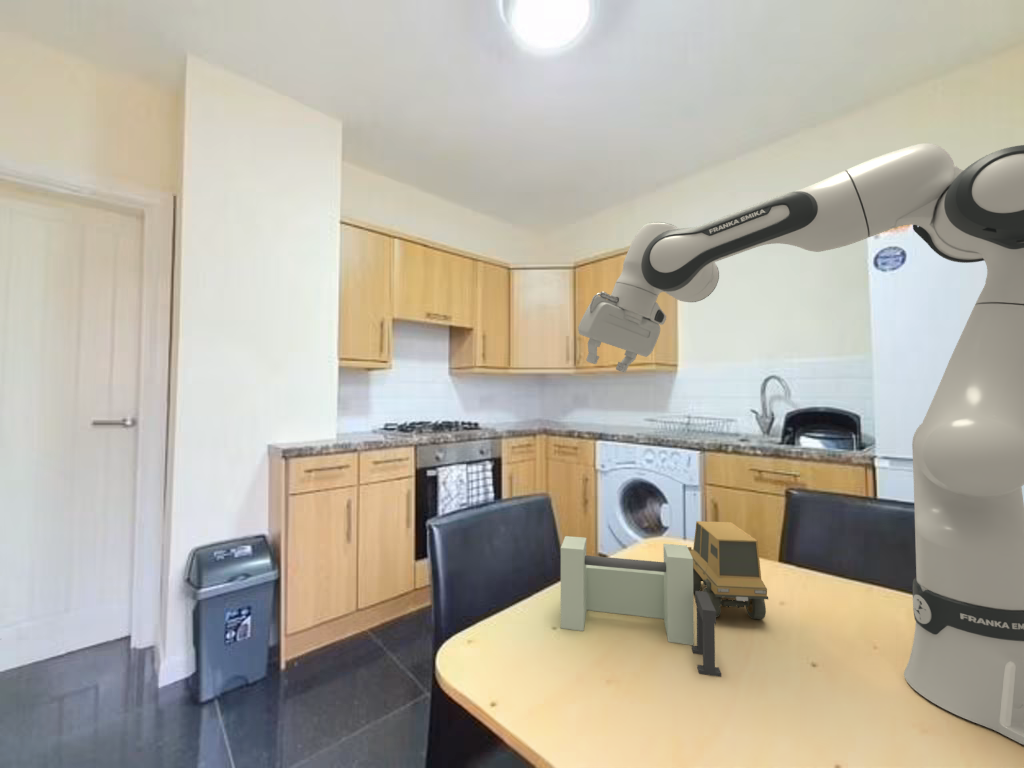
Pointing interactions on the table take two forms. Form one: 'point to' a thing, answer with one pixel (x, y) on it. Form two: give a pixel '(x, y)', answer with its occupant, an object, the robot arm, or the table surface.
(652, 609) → the lever switch frame
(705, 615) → the dark grey flanged post
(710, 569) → the toy car
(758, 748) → the table surface
